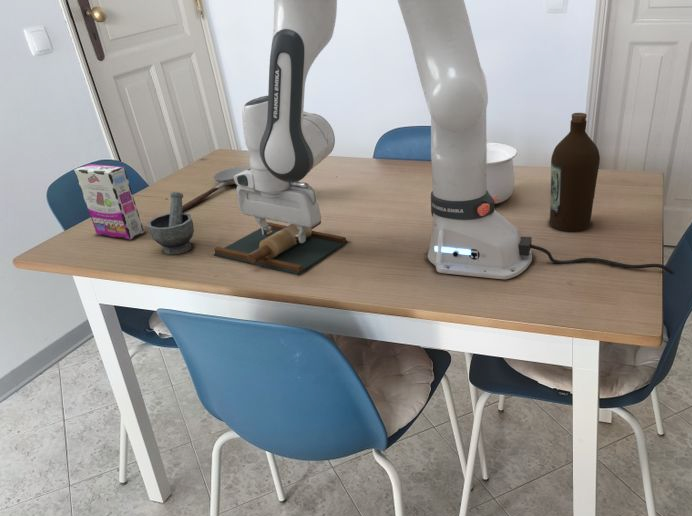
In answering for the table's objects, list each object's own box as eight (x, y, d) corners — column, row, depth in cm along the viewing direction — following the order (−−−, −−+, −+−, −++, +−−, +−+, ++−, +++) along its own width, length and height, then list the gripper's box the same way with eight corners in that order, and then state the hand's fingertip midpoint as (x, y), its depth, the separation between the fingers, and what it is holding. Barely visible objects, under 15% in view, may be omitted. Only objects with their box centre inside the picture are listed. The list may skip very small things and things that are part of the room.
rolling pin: (326, 230, 149) (323, 212, 147) (261, 270, 133) (257, 251, 130) (311, 227, 151) (308, 210, 149) (245, 266, 135) (241, 247, 132)
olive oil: (586, 214, 153) (597, 107, 139) (597, 231, 144) (610, 119, 131) (543, 216, 153) (549, 109, 139) (551, 234, 144) (559, 121, 130)
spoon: (261, 176, 185) (258, 166, 184) (187, 222, 161) (183, 211, 159) (231, 176, 189) (228, 166, 188) (155, 221, 165) (151, 210, 163)
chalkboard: (347, 242, 145) (346, 236, 144) (298, 275, 132) (297, 268, 131) (267, 226, 155) (266, 221, 154) (214, 255, 142) (212, 249, 141)
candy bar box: (146, 232, 154) (125, 166, 145) (131, 240, 151) (109, 173, 141) (111, 227, 158) (89, 162, 149) (95, 235, 154) (72, 169, 145)
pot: (503, 217, 153) (505, 168, 147) (436, 211, 159) (435, 163, 152) (523, 188, 171) (525, 142, 164) (462, 183, 176) (461, 139, 169)
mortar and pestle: (184, 259, 141) (170, 207, 134) (147, 256, 142) (131, 205, 136) (209, 238, 150) (197, 189, 143) (174, 236, 152) (160, 188, 145)
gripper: (322, 179, 131) (330, 241, 139) (247, 167, 139) (258, 226, 147) (304, 188, 126) (313, 252, 134) (227, 175, 135) (240, 236, 142)
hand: (284, 238), depth 141 cm, fingers open, 8 cm apart
